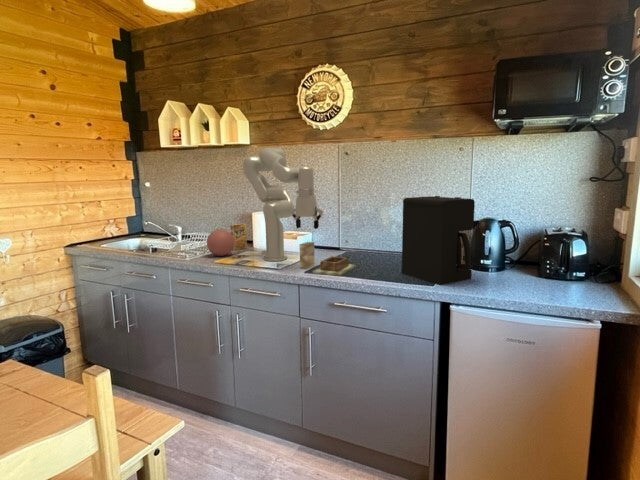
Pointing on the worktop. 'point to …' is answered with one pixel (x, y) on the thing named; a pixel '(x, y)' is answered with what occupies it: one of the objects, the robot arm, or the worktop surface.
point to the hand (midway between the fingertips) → (307, 228)
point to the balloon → (220, 242)
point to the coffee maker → (437, 238)
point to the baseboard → (177, 247)
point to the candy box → (239, 235)
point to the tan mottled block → (307, 255)
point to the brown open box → (334, 266)
